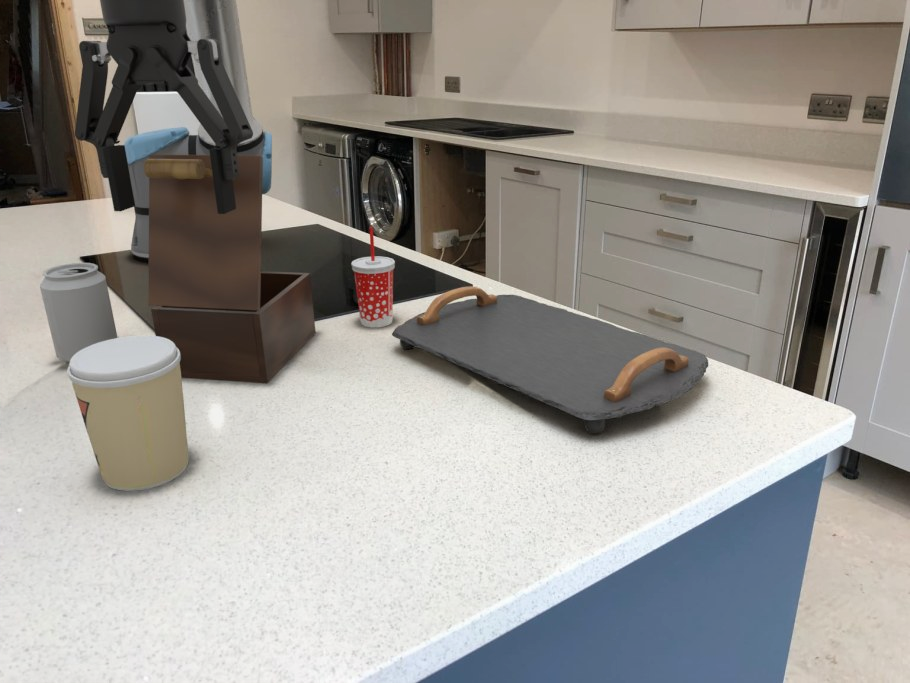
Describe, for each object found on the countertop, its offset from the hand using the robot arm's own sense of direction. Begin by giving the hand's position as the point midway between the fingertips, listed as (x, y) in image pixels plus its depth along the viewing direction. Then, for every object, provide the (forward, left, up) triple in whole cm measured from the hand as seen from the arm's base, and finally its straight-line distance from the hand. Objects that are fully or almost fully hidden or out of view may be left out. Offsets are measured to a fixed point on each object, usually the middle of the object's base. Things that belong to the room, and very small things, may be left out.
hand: (175, 210), depth 78 cm
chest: (-11, 0, -21) cm, 24 cm away
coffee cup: (+17, +3, -21) cm, 28 cm away
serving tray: (-13, +39, -21) cm, 46 cm away
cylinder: (-94, -53, -21) cm, 110 cm away
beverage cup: (-25, +14, -21) cm, 36 cm away
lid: (-6, 0, -4) cm, 7 cm away
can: (-7, -20, -21) cm, 30 cm away
